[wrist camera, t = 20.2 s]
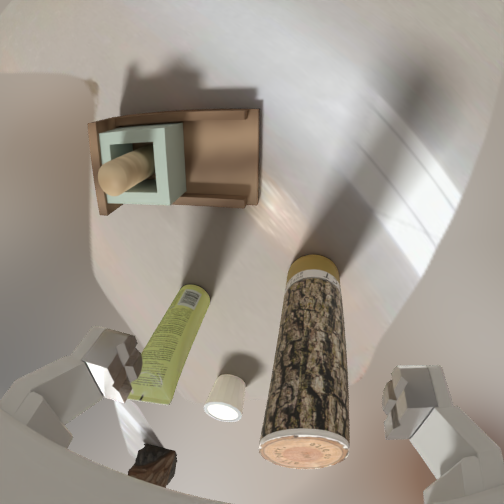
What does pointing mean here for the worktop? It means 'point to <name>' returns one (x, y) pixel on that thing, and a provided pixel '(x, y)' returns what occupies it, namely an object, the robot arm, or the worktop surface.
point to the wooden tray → (199, 154)
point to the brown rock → (154, 465)
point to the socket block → (165, 156)
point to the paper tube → (309, 372)
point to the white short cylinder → (226, 398)
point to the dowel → (127, 170)
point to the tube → (170, 347)
